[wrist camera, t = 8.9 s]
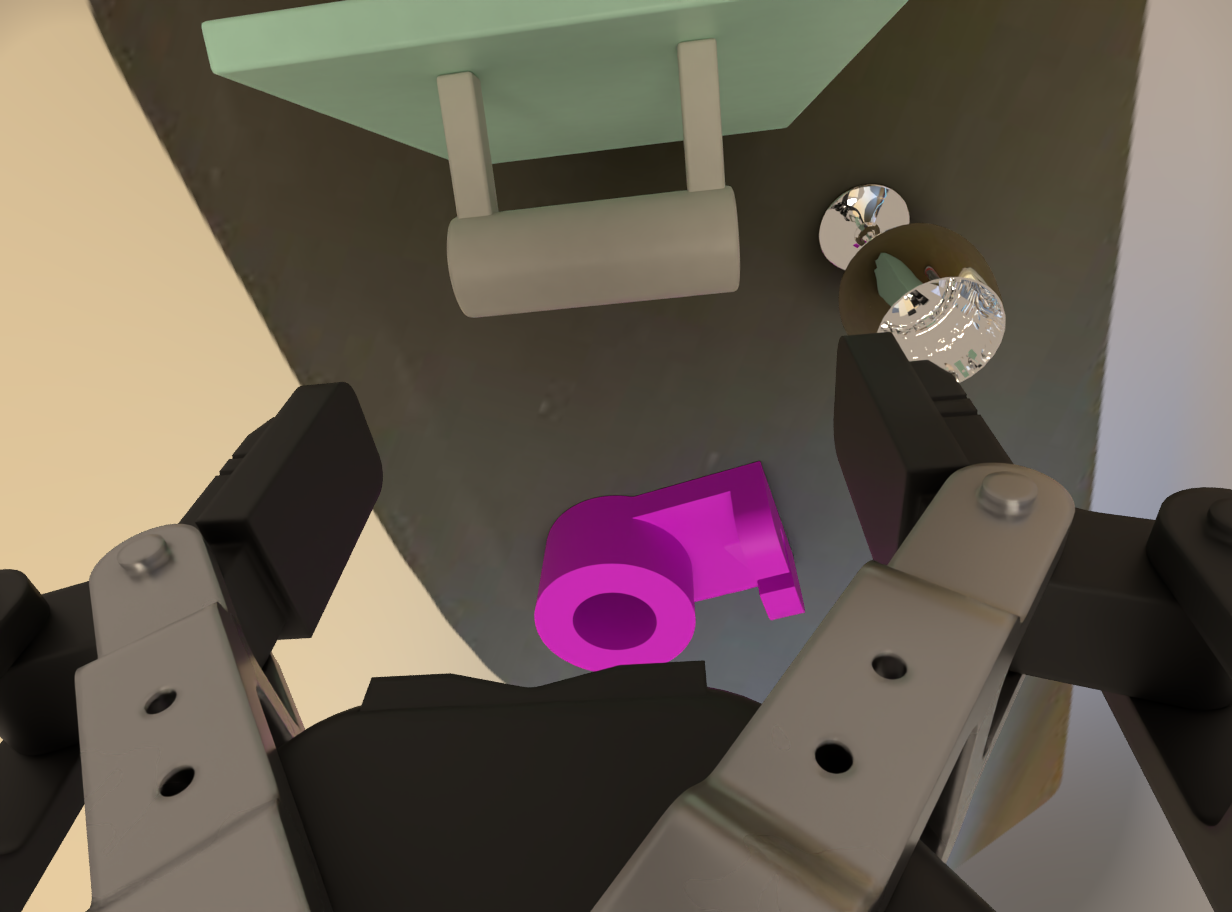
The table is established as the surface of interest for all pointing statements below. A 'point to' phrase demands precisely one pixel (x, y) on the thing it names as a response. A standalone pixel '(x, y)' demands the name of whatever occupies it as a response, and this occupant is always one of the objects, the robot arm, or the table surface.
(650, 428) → the table surface
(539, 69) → the bin lid
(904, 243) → the wineglass
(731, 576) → the tape dispenser
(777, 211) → the table surface
